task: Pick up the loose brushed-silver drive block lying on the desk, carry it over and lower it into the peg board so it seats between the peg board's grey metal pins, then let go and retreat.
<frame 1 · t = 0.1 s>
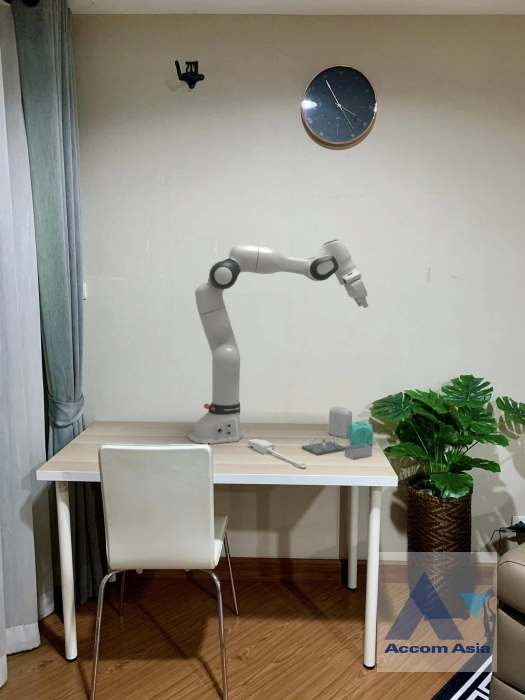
hand: (363, 306, 249), 54 cm above the table, tool tilted 30°, fingers open, 8 cm apart
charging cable: (276, 457, 226), on the table
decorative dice: (360, 444, 244), on the table
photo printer: (339, 436, 255), on the table
drive: (358, 456, 228), on the table
peg board: (323, 449, 235), on the table
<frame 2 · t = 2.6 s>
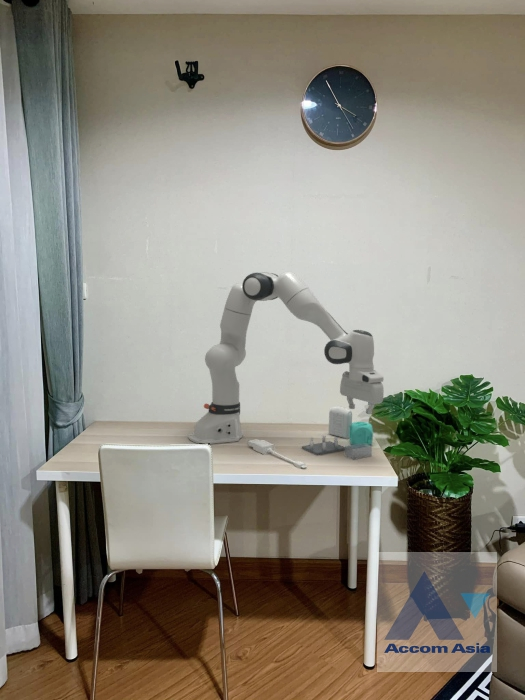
hand: (360, 411, 225), 17 cm above the table, tool pointing down, fingers open, 8 cm apart
nothing on the table moved.
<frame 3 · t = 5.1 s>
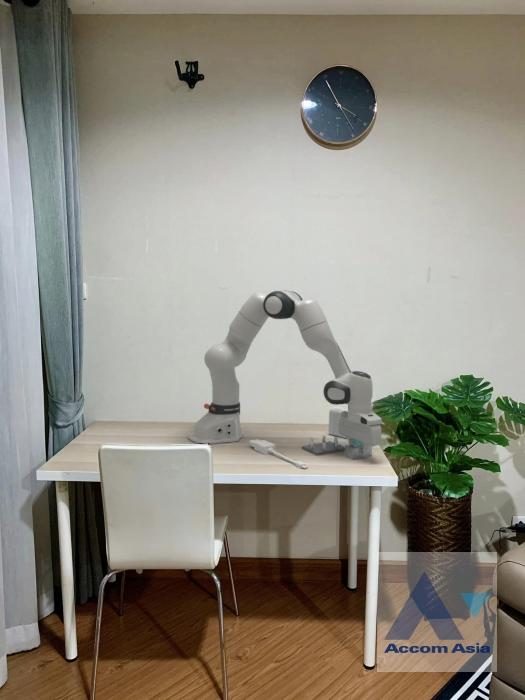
hand: (358, 451, 228), 2 cm above the table, tool pointing down, fingers closed on drive, 5 cm apart
drive: (358, 456, 228), on the table, touching gripper
everything else where it was.
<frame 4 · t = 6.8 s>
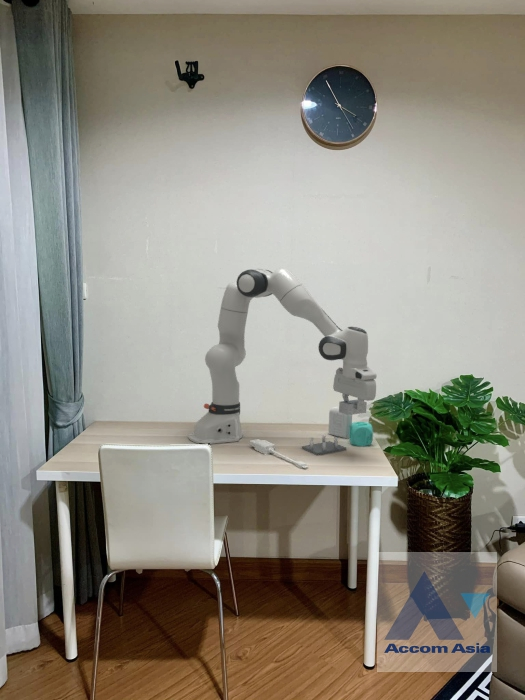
hand: (352, 407, 227), 18 cm above the table, tool pointing down, fingers closed on drive, 5 cm apart
drive: (352, 412, 227), point 16 cm above the table, touching gripper
everything else where it was.
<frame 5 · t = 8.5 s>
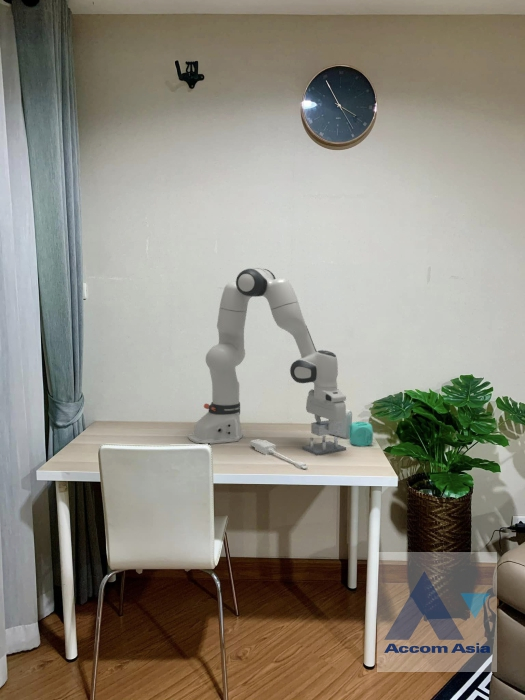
hand: (324, 428, 234), 8 cm above the table, tool pointing down, fingers closed on drive, 5 cm apart
drive: (324, 432, 235), point 7 cm above the table, touching gripper
everything else where it was.
when the fingers open (4 cm above the table, at t = 10.3 s): drive stays where it is, resting on peg board.
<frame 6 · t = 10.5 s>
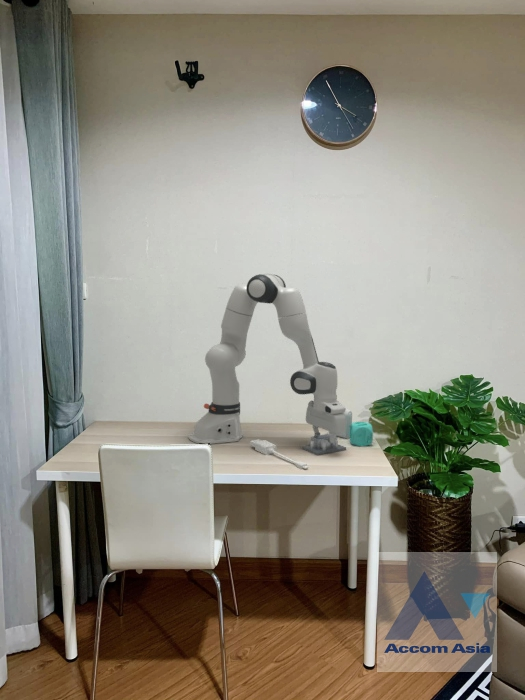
hand: (324, 439, 235), 4 cm above the table, tool pointing down, fingers open, 7 cm apart
drive: (323, 446, 235), point 1 cm above the table, touching peg board
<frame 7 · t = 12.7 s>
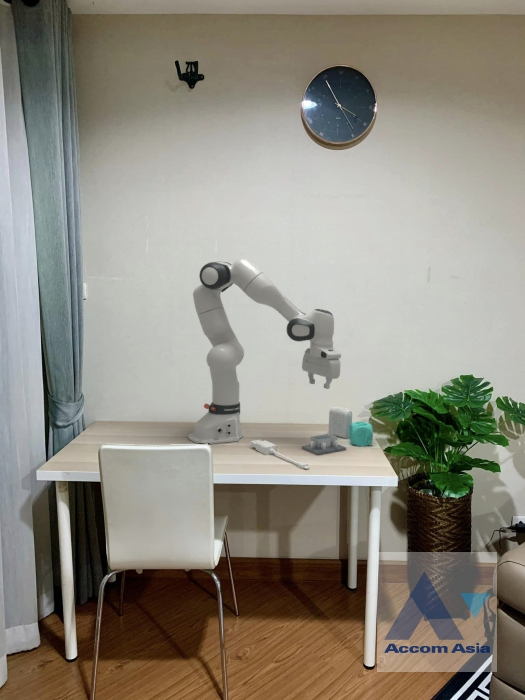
hand: (319, 386, 238), 24 cm above the table, tool pointing down, fingers open, 8 cm apart
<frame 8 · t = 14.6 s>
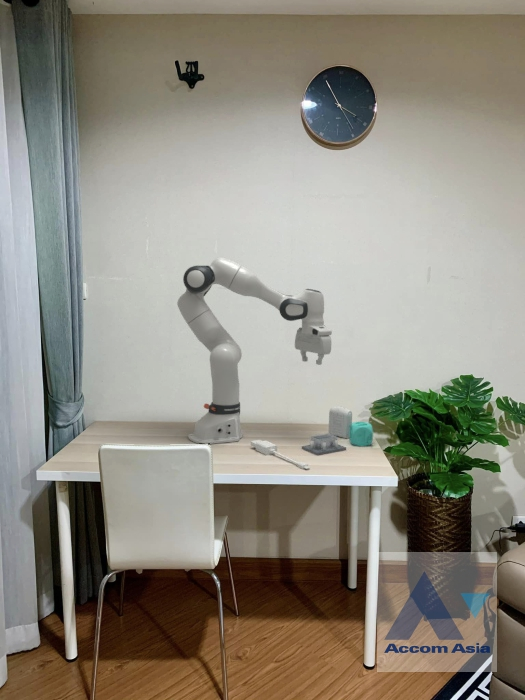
hand: (311, 362, 249), 31 cm above the table, tool pointing down, fingers open, 8 cm apart
at the end: drive 0.1 cm off-centre on the peg board, point 1.0 cm above the peg board's base; drive tilted 0°; the gripper is holding nothing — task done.
